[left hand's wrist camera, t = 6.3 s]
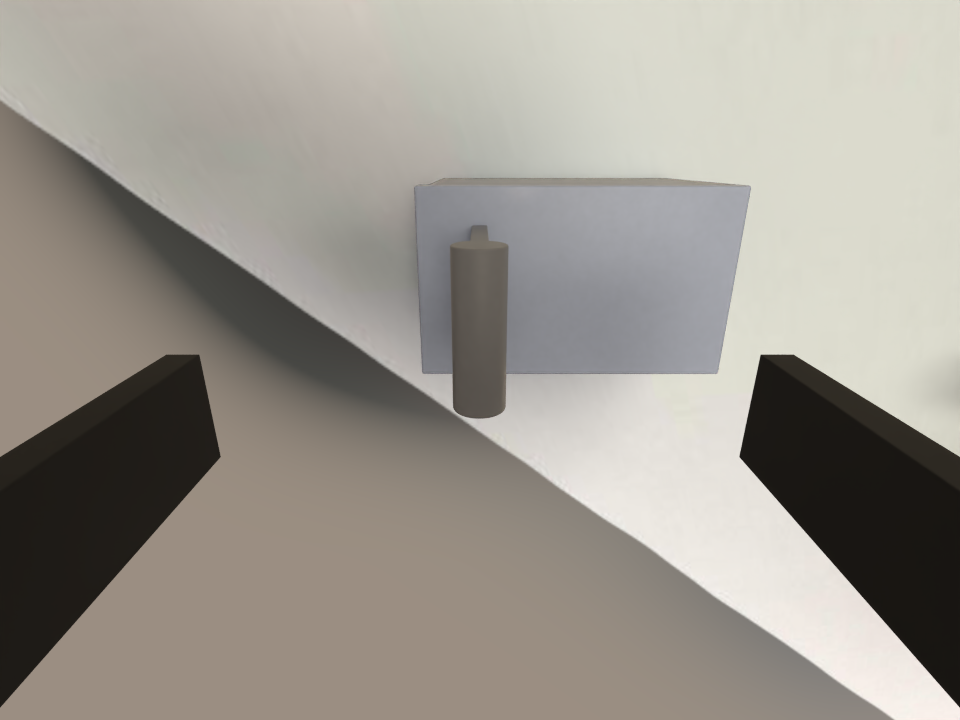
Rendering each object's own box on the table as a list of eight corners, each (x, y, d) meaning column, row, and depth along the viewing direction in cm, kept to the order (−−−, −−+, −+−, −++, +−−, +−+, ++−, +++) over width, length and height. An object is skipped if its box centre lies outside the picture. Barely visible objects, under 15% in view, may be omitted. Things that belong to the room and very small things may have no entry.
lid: (424, 365, 27) (399, 457, 19) (417, 184, 24) (382, 196, 15) (708, 365, 27) (810, 457, 19) (739, 184, 24) (880, 196, 15)
